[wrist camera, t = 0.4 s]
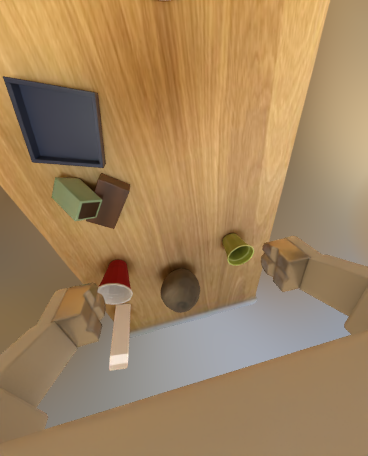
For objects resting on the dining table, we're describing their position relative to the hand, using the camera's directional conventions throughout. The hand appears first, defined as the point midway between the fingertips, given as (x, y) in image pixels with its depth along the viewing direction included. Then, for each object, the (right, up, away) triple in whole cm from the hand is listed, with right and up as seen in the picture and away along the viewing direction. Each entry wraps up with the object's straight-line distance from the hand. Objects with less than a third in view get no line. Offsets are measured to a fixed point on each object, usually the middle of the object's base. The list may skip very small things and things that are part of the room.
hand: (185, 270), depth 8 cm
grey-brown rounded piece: (-3, -16, +61) cm, 63 cm away
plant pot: (+17, -2, +56) cm, 59 cm away
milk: (-27, -33, +68) cm, 80 cm away
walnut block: (-20, +10, +38) cm, 44 cm away
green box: (-25, +12, +35) cm, 45 cm away
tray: (-24, +23, +27) cm, 43 cm away
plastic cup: (-23, -11, +53) cm, 58 cm away
